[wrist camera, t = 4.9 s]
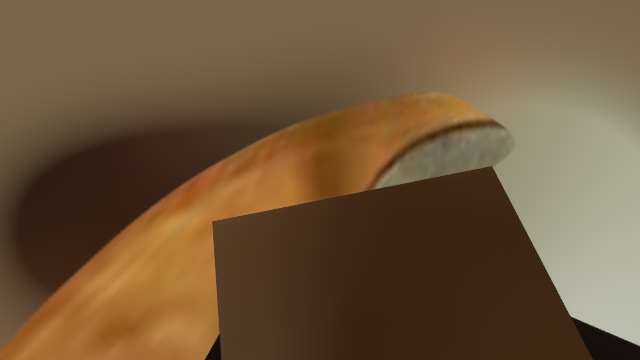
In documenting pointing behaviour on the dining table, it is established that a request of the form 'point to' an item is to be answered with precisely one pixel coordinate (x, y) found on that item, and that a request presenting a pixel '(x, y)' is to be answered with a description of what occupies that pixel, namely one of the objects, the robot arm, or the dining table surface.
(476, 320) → the walnut post
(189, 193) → the dining table surface
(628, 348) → the robot arm
